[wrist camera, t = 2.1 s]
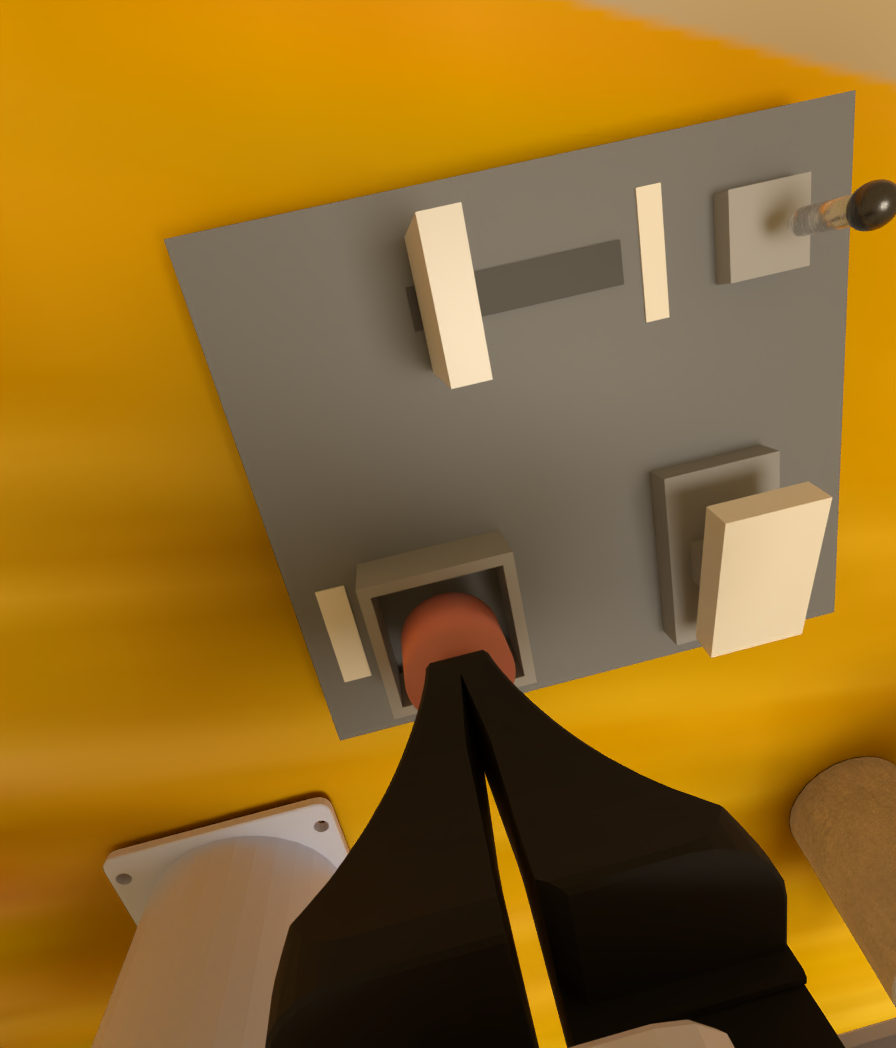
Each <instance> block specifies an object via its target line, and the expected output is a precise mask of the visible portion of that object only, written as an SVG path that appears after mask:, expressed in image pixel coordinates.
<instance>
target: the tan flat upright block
mask: <svg viewBox="0 0 896 1048" xmlns="http://www.w3.org/2000/svg"><path fill="white" fill-rule="evenodd" d="M404 238H405V243H406V248H407V252H408V257H409V262H410V266H411V271H412V276H413V280H414V285H415V290H416V294H417V299H418V304H419V308H420V313H421V318H422V322H423V327H424V332H425V337H426V341H427V346H428V351H429V355H430V360H431V365H432V369H433V373H434V374H435V375H436V376H437V377H438V378H439V379H441V380H442V381H443V382H444V383H445V384H446V385H447V386H448V387H450V388H451V389H454V388H458V387H463V386H467V385H471V384H476V383H480V382H484V381H489V380H493V378H492V372H491V367H490V361H489V355H488V350H487V344H486V339H485V333H484V327H483V322H482V316H481V310H480V305H479V299H478V294H477V288H476V282H475V277H474V271H473V265H472V260H471V254H470V248H469V243H468V237H467V232H466V226H465V220H464V215H463V209H462V203H461V202H459V203H454V204H450V205H445V206H441V207H436V208H431V209H427V210H422V211H418V212H415V214H414V216H413V218H412V221H411V223H410V225H409V228H408V230H407V232H406V235H405V237H404Z"/></svg>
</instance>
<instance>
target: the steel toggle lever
mask: <svg viewBox="0 0 896 1048" xmlns="http://www.w3.org/2000/svg"><path fill="white" fill-rule="evenodd" d="M895 215H896V184H895V183H893V182H891V181H889V180H874V181H871V182H868V183H866V184H864V185H863V186H861V187H860V188H859V189H857V190H856V191H855V192H854V193H853V194H852V195H847V196H843V197H839V198H835V199H831V200H827V201H823V202H819V203H815V204H811V205H807V206H803V207H800V208H798V209H797V210H795V211H794V212H793V213H792V214H791V216H790V217H789V220H788V230H789V232H790V233H791V234H792V235H794V236H798V237H801V236H807V235H812V234H817V233H822V232H827V231H832V230H837V229H842V228H847V227H852V228H854V229H856V230H859V231H873V230H876V229H879V228H881V227H883V226H884V225H886V224H887V223H888V222H890V221H891V220H892V219H893V218H894V217H895Z"/></svg>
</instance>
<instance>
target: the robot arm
mask: <svg viewBox="0 0 896 1048" xmlns="http://www.w3.org/2000/svg"><path fill="white" fill-rule="evenodd" d="M484 772H485V773H484ZM485 775H486V777H487V780H488V783H489V786H490V789H491V791H492V794H493V797H494V800H495V803H496V805H497V808H498V811H499V814H500V816H501V819H502V822H503V825H504V827H505V830H506V833H507V836H508V839H509V841H510V844H511V847H512V850H513V852H514V855H515V858H516V861H517V864H518V867H519V870H520V873H521V876H522V879H523V882H524V886H525V889H526V893H527V897H528V901H529V904H530V908H531V912H532V916H533V920H534V923H535V927H536V931H537V935H538V938H539V942H540V946H541V950H542V953H543V957H544V961H545V965H546V969H547V972H548V976H549V980H550V984H551V988H552V991H553V995H554V999H555V1003H556V1007H557V1010H558V1014H559V1018H560V1022H561V1026H562V1029H563V1033H564V1037H565V1041H566V1045H567V1048H896V1018H893V1019H890V1020H886V1021H883V1022H880V1023H876V1024H873V1025H869V1026H866V1027H863V1028H859V1029H856V1030H853V1031H849V1032H846V1033H842V1034H839V1035H837V1034H836V1032H835V1031H834V1029H833V1028H832V1026H831V1025H830V1023H829V1022H828V1020H827V1019H826V1017H825V1015H824V1014H823V1012H822V1011H821V1009H820V1008H819V1006H818V1005H817V1003H816V1002H815V1000H814V999H813V997H812V995H811V994H810V992H809V991H808V989H807V988H806V986H805V985H804V984H806V983H807V977H806V975H805V972H804V970H803V968H802V966H801V965H800V963H799V962H798V960H797V959H796V957H795V956H794V954H793V953H792V951H791V950H790V948H789V947H788V945H787V894H786V889H785V883H784V880H783V878H782V877H781V875H780V874H779V872H778V871H777V869H776V868H775V866H774V865H773V863H772V862H771V860H770V859H769V857H768V856H767V855H766V853H765V852H764V851H763V850H762V848H761V847H760V846H759V845H758V844H757V842H756V841H755V840H754V839H753V838H752V837H751V836H750V835H749V834H748V833H747V832H746V830H745V829H744V828H743V827H742V826H741V825H740V824H739V823H738V822H737V821H736V820H735V819H734V818H733V817H732V816H731V815H730V814H729V813H728V812H727V811H726V810H725V809H724V808H723V807H722V806H720V805H717V804H715V803H712V802H709V801H706V800H703V799H700V798H698V797H695V796H692V795H689V794H686V793H684V792H681V791H678V790H675V789H672V788H670V787H667V786H665V785H663V784H660V783H658V782H656V781H654V780H651V779H649V778H647V777H645V776H642V775H640V774H638V773H636V772H634V771H633V770H631V769H629V768H627V767H625V766H623V765H621V764H619V763H617V762H616V761H614V760H612V759H610V758H608V757H606V756H605V755H603V754H601V753H600V752H598V751H597V750H595V749H593V748H592V747H590V746H589V745H587V744H586V743H584V742H583V741H581V740H580V739H578V738H577V737H575V736H574V735H572V734H571V733H570V732H568V731H567V730H566V729H564V728H563V727H562V726H560V725H559V724H558V723H556V722H555V721H554V720H553V719H551V718H550V717H549V716H548V715H547V714H545V713H544V712H543V711H542V710H541V709H540V708H538V707H537V706H536V705H535V704H534V703H533V702H532V701H531V700H530V699H529V698H528V697H526V696H525V695H524V694H523V693H522V692H521V691H520V690H519V689H518V688H517V687H516V686H515V685H514V684H513V683H512V682H511V681H510V680H509V678H508V677H507V676H506V675H505V674H504V673H503V672H502V670H501V669H500V668H499V667H498V666H497V664H496V663H495V662H494V660H493V659H492V658H491V656H490V654H489V653H488V652H486V651H484V650H480V651H476V652H472V653H468V654H464V655H460V656H456V657H452V658H448V659H444V660H440V661H436V662H433V663H429V665H428V666H427V668H426V674H425V682H424V688H423V692H422V697H421V701H420V705H419V708H418V712H417V715H416V719H415V722H414V725H413V728H412V731H411V734H410V737H409V740H408V742H407V745H406V748H405V750H404V753H403V755H402V758H401V760H400V763H399V765H398V767H397V770H396V772H395V774H394V776H393V778H392V781H391V783H390V785H389V787H388V789H387V791H386V793H385V795H384V796H383V798H382V800H381V802H380V804H379V805H378V807H377V809H376V811H375V812H374V814H373V816H372V818H371V820H370V821H369V823H368V825H367V826H366V828H365V829H364V831H363V833H362V834H361V836H360V837H359V839H358V840H357V842H356V843H355V845H354V846H353V847H352V849H351V850H350V851H349V849H348V846H347V843H346V841H345V838H344V835H343V833H342V830H341V827H340V825H339V822H338V819H337V817H336V814H335V811H334V809H333V806H332V804H331V803H330V801H329V800H327V799H326V798H322V797H316V798H311V799H307V800H304V801H300V802H296V803H292V804H288V805H285V806H281V807H277V808H273V809H270V810H266V811H262V812H258V813H254V814H251V815H247V816H243V817H239V818H235V819H232V820H228V821H224V822H220V823H217V824H213V825H209V826H205V827H201V828H198V829H194V830H190V831H186V832H183V833H179V834H175V835H171V836H167V837H164V838H160V839H156V840H152V841H148V842H145V843H141V844H137V845H133V846H130V847H126V848H122V849H118V850H115V851H113V852H111V853H110V854H109V855H108V856H107V858H106V860H105V862H104V865H103V870H104V872H105V874H106V876H107V877H108V879H109V881H110V882H111V884H112V886H113V887H114V889H115V890H116V892H117V894H118V895H119V897H120V899H121V900H122V902H123V904H124V905H125V907H126V909H127V910H128V912H129V914H130V915H131V917H132V919H133V920H134V922H135V924H136V925H137V929H136V932H135V934H134V937H133V940H132V942H131V945H130V947H129V950H128V953H127V955H126V958H125V961H124V963H123V966H122V968H121V971H120V974H119V976H118V979H117V981H116V984H115V987H114V989H113V992H112V995H111V997H110V1000H109V1002H108V1005H107V1008H106V1010H105V1013H104V1016H103V1018H102V1021H101V1023H100V1026H99V1029H98V1031H97V1034H96V1036H95V1039H94V1042H93V1044H92V1047H91V1048H539V1045H538V1041H537V1037H536V1033H535V1028H534V1024H533V1020H532V1016H531V1011H530V1007H529V1003H528V999H527V994H526V990H525V986H524V981H523V977H522V973H521V969H520V964H519V960H518V956H517V951H516V947H515V943H514V939H513V934H512V930H511V926H510V921H509V917H508V913H507V909H506V904H505V900H504V896H503V891H502V886H501V880H500V875H499V870H498V863H497V856H496V849H495V842H494V835H493V828H492V821H491V814H490V807H489V800H488V794H487V787H486V780H485ZM318 821H326V822H325V823H319V822H318ZM124 873H125V874H124Z"/></svg>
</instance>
